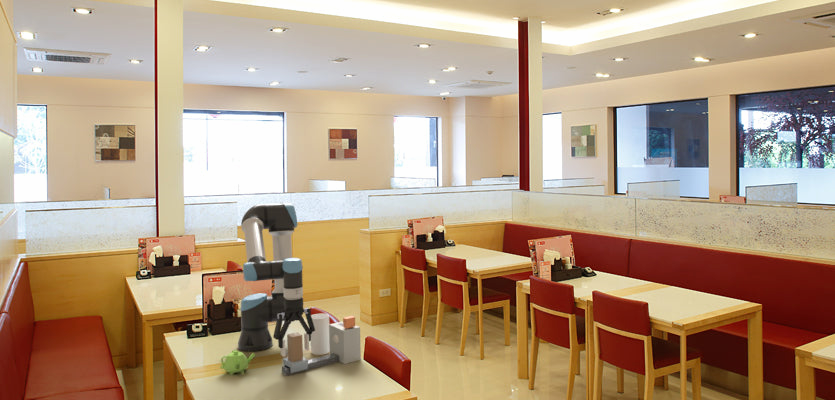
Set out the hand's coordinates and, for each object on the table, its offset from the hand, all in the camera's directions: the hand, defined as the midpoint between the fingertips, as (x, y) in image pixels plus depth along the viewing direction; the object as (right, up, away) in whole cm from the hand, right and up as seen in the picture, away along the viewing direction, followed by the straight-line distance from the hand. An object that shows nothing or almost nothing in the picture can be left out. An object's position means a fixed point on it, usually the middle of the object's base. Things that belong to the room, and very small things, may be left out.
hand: (295, 352), depth 231 cm
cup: (+6, -6, +23) cm, 25 cm away
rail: (+6, -7, +5) cm, 10 cm away
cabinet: (+18, -6, +15) cm, 24 cm away
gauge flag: (+20, +7, +11) cm, 24 cm away
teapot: (-23, -8, +1) cm, 25 cm away
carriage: (0, -7, 0) cm, 7 cm away
